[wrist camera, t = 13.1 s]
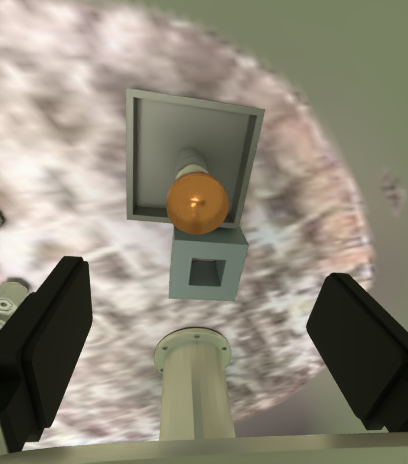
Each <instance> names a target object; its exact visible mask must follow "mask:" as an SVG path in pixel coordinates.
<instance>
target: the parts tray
mask: <svg viewBox="0 0 408 464" xmlns="http://www.w3.org/2000/svg"><path fill="white" fill-rule="evenodd" d="M264 112H265V109H259V108H253V107H246V106H240V105H234V104H227V103H221V102H214V101H208V100H201V99H195V98H188V97H182V96H175V95H169V94H163V93H156V92H150V91H143V90H137V89H130V88H126V170H127V220H139V221H151V222H163V223H172V222H171V221H170V219H169V217H168V214H167V209H166V203H167V195H168V191H169V189H170V186H171V185H172V183H173V182H174V181H175V171H176V158H177V156H178V154H179V153H180V152H181V151H183V150H185V149H195V150H197V151H198V152H200V154H201V155H202V157H203V159H204V161H205V164H206V166H207V169H208V171H209V173H210V174H211V175H213V176H214V177H215V178H217V179H218V180H219V181H220V183H221V184H222V186H223V188H224V190H225V192H226V194H227V196H228V201H229V209H228V213H227V216H226V218H225V220H224V221H223V222H222V224H221V225H220V226H219V227H225V228H237V229H238V228H239V223H240V219H241V214H242V210H243V206H244V201H245V197H246V192H247V188H248V183H249V179H250V174H251V170H252V165H253V161H254V156H255V152H256V147H257V143H258V139H259V134H260V130H261V125H262V121H263V116H264Z"/></svg>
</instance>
